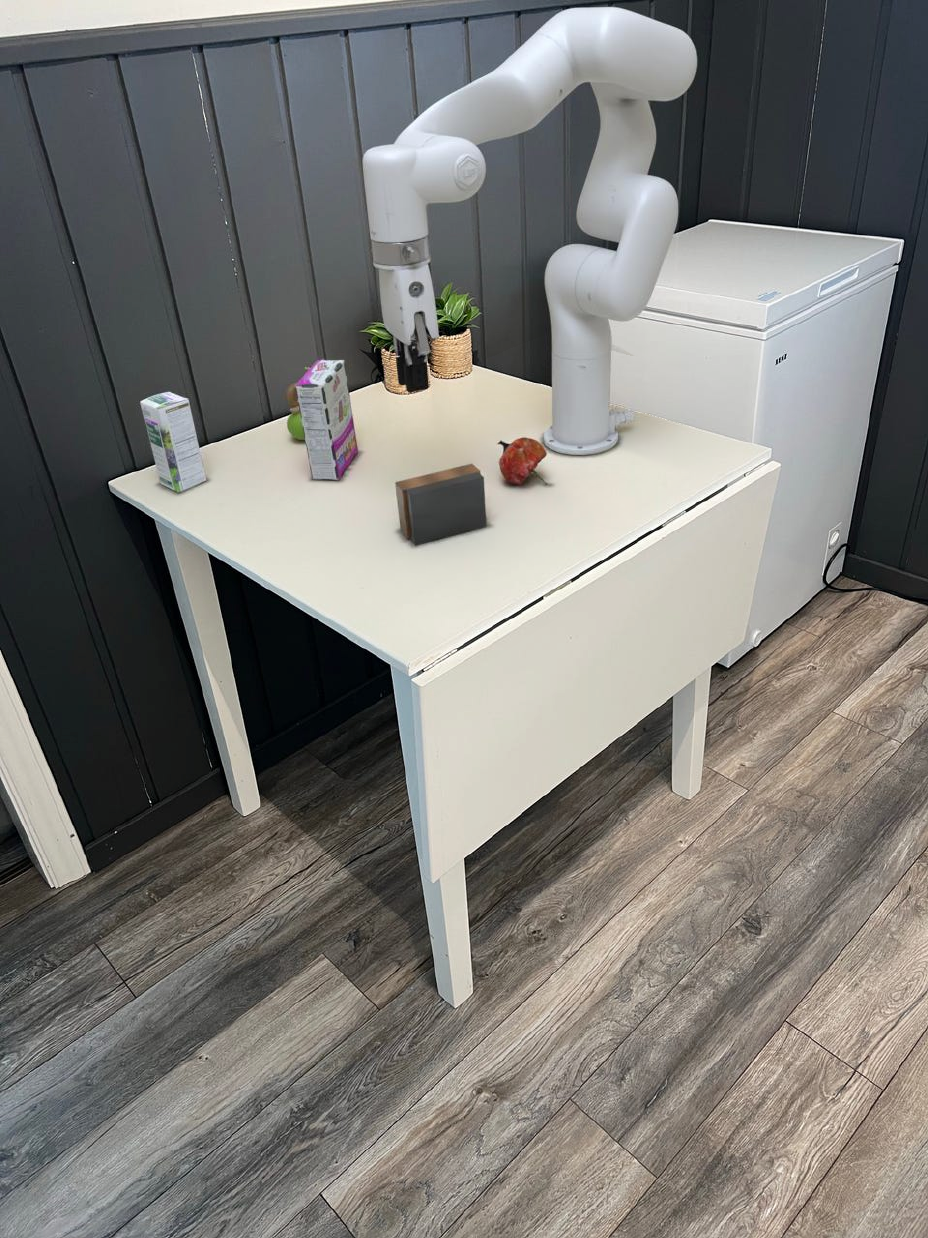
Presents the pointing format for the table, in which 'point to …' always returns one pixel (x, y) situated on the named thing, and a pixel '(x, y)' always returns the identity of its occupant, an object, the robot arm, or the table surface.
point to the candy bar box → (327, 419)
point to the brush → (441, 504)
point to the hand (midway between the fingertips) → (413, 385)
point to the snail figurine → (294, 413)
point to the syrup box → (173, 441)
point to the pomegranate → (520, 459)
